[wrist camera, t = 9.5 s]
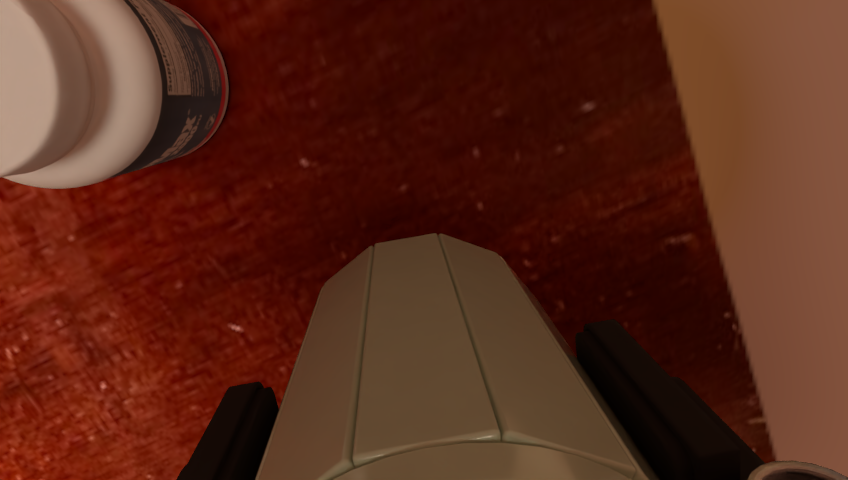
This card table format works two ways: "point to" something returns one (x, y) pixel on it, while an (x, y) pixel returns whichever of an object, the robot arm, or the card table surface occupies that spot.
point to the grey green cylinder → (441, 379)
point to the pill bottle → (103, 88)
